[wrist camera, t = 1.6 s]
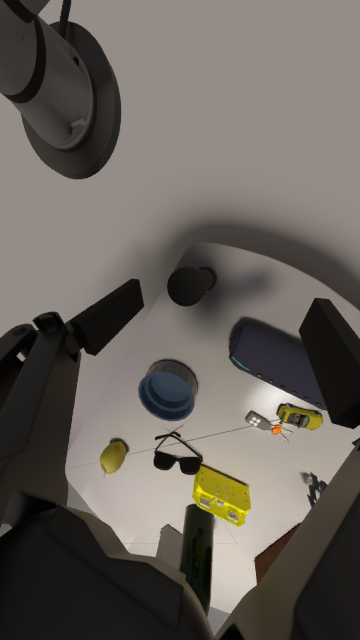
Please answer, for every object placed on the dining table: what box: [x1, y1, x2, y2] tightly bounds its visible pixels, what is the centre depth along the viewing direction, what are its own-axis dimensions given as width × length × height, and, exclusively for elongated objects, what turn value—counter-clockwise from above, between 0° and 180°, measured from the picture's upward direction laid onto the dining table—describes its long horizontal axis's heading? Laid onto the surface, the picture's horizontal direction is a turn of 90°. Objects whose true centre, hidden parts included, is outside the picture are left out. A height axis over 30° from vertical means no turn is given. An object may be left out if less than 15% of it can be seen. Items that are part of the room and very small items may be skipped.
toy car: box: [277, 404, 323, 430], centre depth 40 cm, size 5×10×3 cm, turn 83°
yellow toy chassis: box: [192, 466, 251, 527], centre depth 50 cm, size 16×6×8 cm, turn 75°
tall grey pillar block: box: [156, 525, 182, 570], centre depth 57 cm, size 14×6×25 cm, turn 59°
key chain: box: [246, 412, 292, 443], centre depth 44 cm, size 13×4×2 cm, turn 67°
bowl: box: [138, 361, 197, 421], centre depth 45 cm, size 15×15×6 cm
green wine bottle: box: [178, 505, 214, 617], centre depth 46 cm, size 10×10×33 cm
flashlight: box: [167, 267, 217, 306], centre depth 27 cm, size 5×24×5 cm
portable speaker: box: [229, 324, 327, 410], centre depth 34 cm, size 25×10×10 cm, turn 67°
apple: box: [100, 441, 126, 474], centre depth 57 cm, size 8×8×10 cm
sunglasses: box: [154, 432, 203, 475], centre depth 52 cm, size 17×14×5 cm
